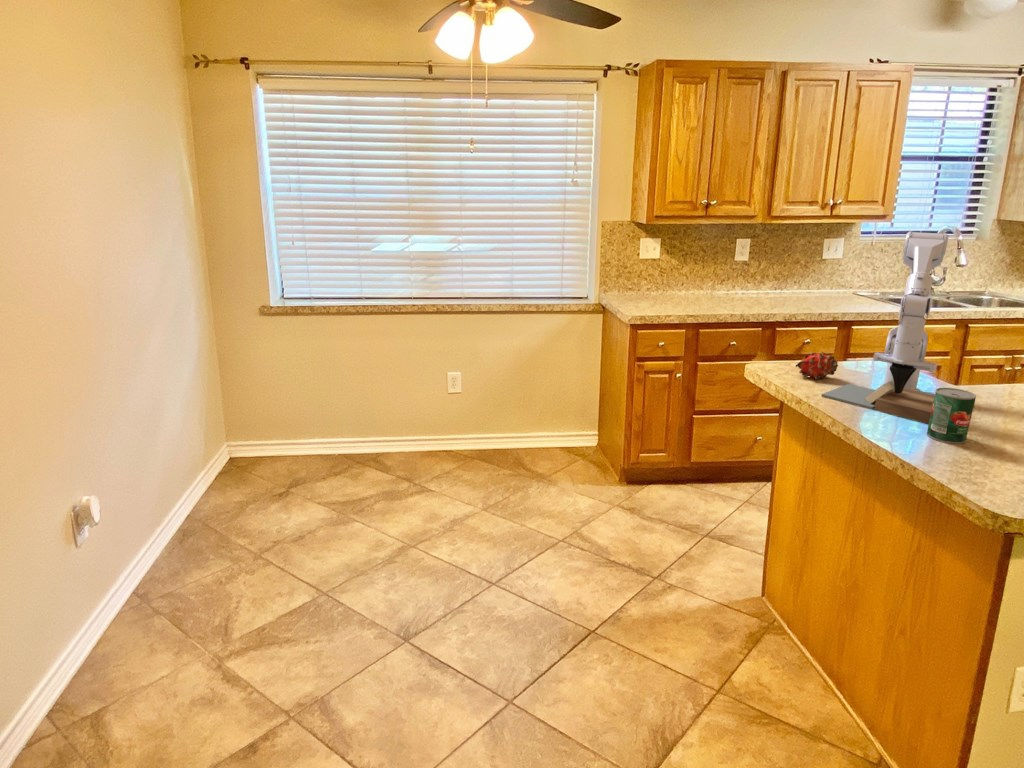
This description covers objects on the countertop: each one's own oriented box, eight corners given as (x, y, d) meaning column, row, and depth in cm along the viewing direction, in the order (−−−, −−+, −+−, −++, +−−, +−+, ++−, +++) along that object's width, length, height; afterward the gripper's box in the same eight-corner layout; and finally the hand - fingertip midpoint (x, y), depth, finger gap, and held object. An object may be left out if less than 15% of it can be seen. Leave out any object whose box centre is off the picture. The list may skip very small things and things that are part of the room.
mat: (848, 385, 194) (848, 383, 194) (897, 397, 185) (898, 395, 184) (821, 396, 185) (821, 394, 184) (871, 409, 175) (872, 407, 175)
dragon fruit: (839, 385, 200) (796, 387, 203) (833, 362, 205) (791, 365, 208) (843, 367, 194) (799, 370, 196) (837, 344, 199) (794, 348, 202)
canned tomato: (929, 428, 162) (938, 385, 158) (968, 436, 157) (978, 392, 154) (923, 438, 156) (933, 393, 153) (963, 446, 151) (974, 400, 148)
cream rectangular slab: (884, 397, 183) (879, 391, 183) (902, 384, 178) (897, 378, 179) (870, 403, 177) (865, 397, 178) (888, 390, 173) (883, 384, 174)
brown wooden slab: (899, 397, 184) (901, 387, 183) (956, 411, 174) (959, 400, 173) (873, 409, 174) (876, 398, 173) (933, 425, 164) (935, 413, 163)
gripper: (872, 338, 174) (863, 388, 178) (933, 349, 164) (922, 402, 168) (883, 335, 179) (874, 383, 183) (944, 345, 168) (933, 397, 172)
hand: (898, 392), depth 176 cm, fingers closed, pressing on cream rectangular slab
